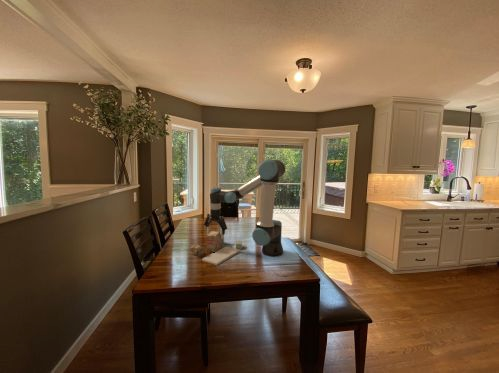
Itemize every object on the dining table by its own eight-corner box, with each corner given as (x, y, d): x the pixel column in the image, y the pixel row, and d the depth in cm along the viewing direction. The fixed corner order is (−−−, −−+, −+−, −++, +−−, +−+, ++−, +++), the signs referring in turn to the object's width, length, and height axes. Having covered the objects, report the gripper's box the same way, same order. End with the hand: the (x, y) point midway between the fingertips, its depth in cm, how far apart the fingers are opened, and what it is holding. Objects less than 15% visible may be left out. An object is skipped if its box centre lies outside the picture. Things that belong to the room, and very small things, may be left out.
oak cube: (200, 252, 159) (200, 245, 158) (196, 255, 154) (196, 248, 154) (193, 251, 160) (193, 244, 160) (190, 254, 156) (189, 247, 155)
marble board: (240, 251, 162) (240, 249, 162) (216, 265, 140) (216, 263, 140) (226, 247, 168) (226, 246, 168) (202, 260, 146) (202, 258, 146)
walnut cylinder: (206, 255, 154) (206, 247, 153) (201, 258, 150) (201, 249, 149) (201, 254, 156) (201, 245, 155) (196, 256, 152) (196, 247, 151)
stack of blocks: (216, 241, 181) (216, 226, 180) (223, 242, 180) (223, 227, 179) (206, 252, 160) (206, 235, 159) (215, 252, 159) (215, 235, 158)
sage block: (242, 245, 173) (242, 240, 173) (241, 249, 166) (241, 244, 166) (236, 245, 173) (236, 240, 173) (236, 249, 166) (236, 244, 166)
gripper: (232, 210, 163) (231, 238, 166) (206, 205, 176) (205, 232, 179) (226, 211, 157) (225, 241, 159) (199, 207, 170) (199, 234, 172)
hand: (215, 236), depth 169 cm, fingers open, 13 cm apart
